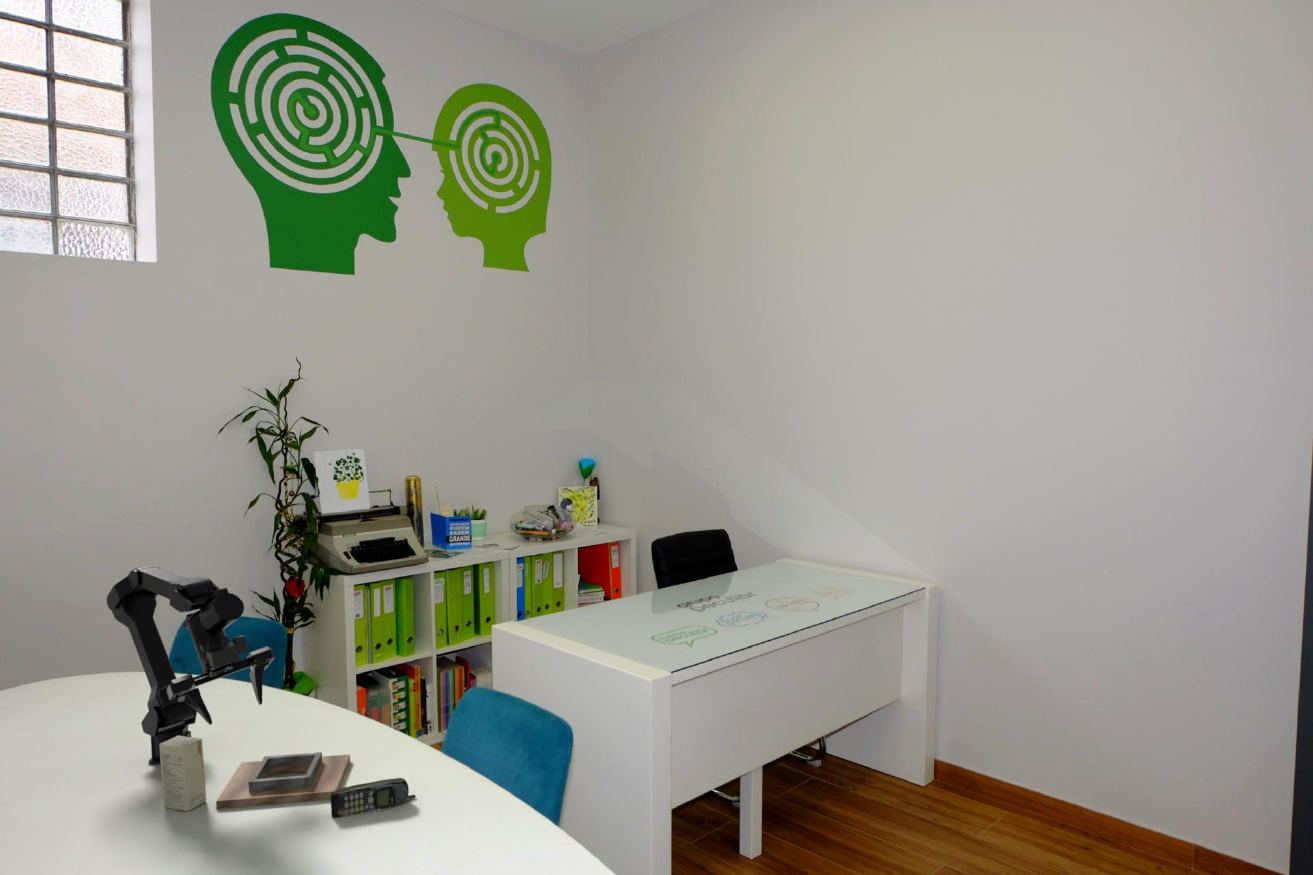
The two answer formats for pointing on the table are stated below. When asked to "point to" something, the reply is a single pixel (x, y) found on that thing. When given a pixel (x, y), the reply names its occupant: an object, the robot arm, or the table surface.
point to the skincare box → (182, 773)
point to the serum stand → (284, 780)
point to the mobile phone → (369, 797)
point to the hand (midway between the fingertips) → (236, 713)
